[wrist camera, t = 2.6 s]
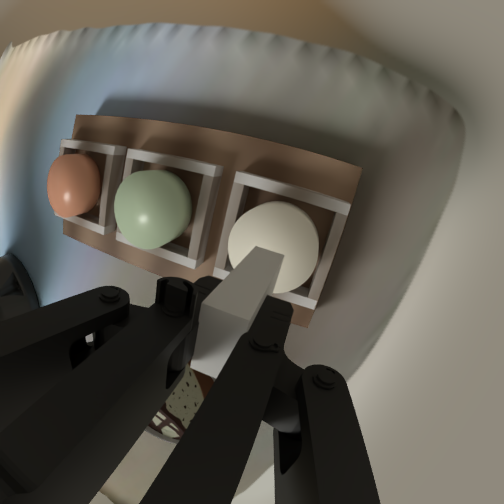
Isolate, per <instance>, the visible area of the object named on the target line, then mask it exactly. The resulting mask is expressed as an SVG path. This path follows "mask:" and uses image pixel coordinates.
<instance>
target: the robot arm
mask: <svg viewBox="0 0 504 504" xmlns="http://www.w3.org/2000/svg"><path fill="white" fill-rule="evenodd" d="M283 259H284V255H283V254H280V253H277V252H273V251H270V250H267V249H264V248H261V247H258V246H255V247H254V248H253V249H252V250H251V251H250V253H249V254H248V255H247V256H246V257H245V258H244V259H243V260H242V261H241V262H240V263H239V264H238V265H237V266H236V267H235V268H234V269H233V270H232V271H231V272H230V273H229V275H228V276H227V277H226V278H225V279H224V280H220V279H218V278H215V277H212V276H209V275H208V276H205V277H201V278H199V279H198V280H197V281H195V282H194V283H192V282H190V281H188V280H187V279H183V278H180V277H163V278H160V279H158V280H157V289H156V299H155V303H154V304H153V305H152V306H150V307H149V308H146V307H141V306H137V305H132V304H130V298H129V294H128V293H127V292H126V291H125V290H123V289H121V288H119V287H115V286H103V287H98V288H95V289H92V290H89V291H86V292H84V293H81V294H78V295H75V296H72V297H69V298H66V299H63V300H60V301H58V302H55V303H52V304H49V305H46V306H43V307H40V308H39V304H38V300H37V296H36V293H35V290H34V287H33V285H32V282H31V280H30V278H29V276H28V274H27V272H26V270H25V268H24V267H23V265H22V264H21V262H20V261H19V260H18V259H17V258H16V257H15V256H14V255H12V254H7V255H4V256H2V257H0V504H89V503H90V501H91V500H92V499H93V498H94V496H95V495H96V494H97V492H98V491H99V490H100V489H101V487H102V486H103V485H104V483H105V482H106V481H107V479H108V478H109V477H110V475H111V474H112V473H113V472H114V470H115V469H116V468H117V466H118V465H119V464H120V462H121V461H122V460H123V458H124V457H125V456H126V454H127V453H128V452H129V450H130V449H131V448H132V446H133V445H134V444H135V442H136V441H137V440H138V438H139V437H140V436H141V434H142V433H143V431H144V430H145V429H146V427H147V426H148V425H149V423H150V422H151V421H152V419H153V418H154V417H155V415H156V414H157V412H158V411H159V410H160V408H161V407H162V406H163V404H164V403H165V402H166V400H167V399H168V397H169V396H170V395H171V393H172V392H173V391H174V389H175V388H176V386H177V385H178V384H179V382H180V381H181V379H182V378H183V376H184V374H185V369H186V365H187V363H188V362H189V361H190V359H191V358H192V360H191V366H190V368H192V369H194V370H197V371H199V372H201V373H204V374H206V375H209V376H211V377H214V378H216V380H215V382H214V383H213V385H212V387H211V388H210V390H209V392H208V394H207V395H206V397H205V399H204V400H203V402H202V404H201V405H200V407H199V409H198V410H197V412H196V414H195V415H194V417H193V419H192V420H191V422H190V424H189V425H188V427H187V429H186V430H185V432H184V434H183V435H182V437H181V439H180V440H179V442H178V443H177V445H176V447H175V448H174V450H173V452H172V453H171V455H170V456H169V458H168V460H167V461H166V463H165V464H164V466H163V467H162V469H161V471H160V472H159V474H158V475H157V477H156V478H155V480H154V482H153V483H152V485H151V486H150V488H149V489H148V491H147V492H146V494H145V495H144V497H143V499H142V500H141V502H140V503H139V504H231V502H232V499H233V497H234V494H235V492H236V489H237V487H238V484H239V482H240V479H241V477H242V474H243V471H244V469H245V466H246V463H247V461H248V458H249V455H250V452H251V450H252V447H253V444H254V441H255V438H256V436H257V433H258V430H259V427H260V424H261V421H262V420H263V421H265V422H266V423H268V424H269V425H271V426H272V427H274V430H273V440H274V475H275V504H380V500H379V496H378V492H377V488H376V484H375V480H374V476H373V472H372V468H371V465H370V461H369V457H368V454H367V450H366V447H365V443H364V439H363V436H362V433H361V429H360V426H359V422H358V419H357V416H356V412H355V409H354V406H353V402H352V399H351V396H350V393H349V390H348V386H347V383H346V381H345V379H344V378H343V376H342V375H341V374H340V373H339V372H338V371H336V370H334V369H332V368H331V367H328V366H324V365H311V366H308V367H306V368H305V369H302V368H301V367H299V366H297V365H296V364H294V363H293V362H292V361H291V360H289V359H288V357H287V356H286V354H285V352H284V343H285V340H286V336H287V333H288V329H289V326H290V322H291V319H292V315H293V311H294V309H293V307H292V305H291V303H290V302H287V301H284V300H281V299H278V298H275V297H272V294H273V291H274V288H275V285H276V281H277V278H278V275H279V272H280V269H281V265H282V262H283ZM91 333H93V341H92V342H88V343H87V342H86V338H85V336H87V335H89V334H91Z"/></svg>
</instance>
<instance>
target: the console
mask: <svg viewBox="0 0 504 504" xmlns="http://www.w3.org/2000/svg"><path fill="white" fill-rule="evenodd" d="M66 154H86V155H89V156H90V157H91V158H92V159H93V160H94V161H95V162H96V164H97V166H98V169H99V172H100V178H101V189H100V195H99V198H98V201H97V203H96V205H95V206H94V207H93V209H91V210H90V211H89V212H87V213H83V214H79V215H76V216H72V217H68V218H64V217H61V216H59V215H58V214H57V213H56V212H55V211H54V215H56V216H58V217H61V218H63V234H65V235H67V236H69V237H71V238H73V239H75V240H78V241H80V242H82V243H84V244H86V245H89V246H91V247H93V248H95V249H98V250H100V251H102V252H104V253H107V254H109V255H111V256H114V257H116V258H118V259H121V260H123V261H125V262H128V263H130V264H132V265H135V266H137V267H140V268H142V269H145V270H147V271H149V272H152V273H154V274H157V275H159V276H162V277H180V278H183V279H187V280H188V281H190V282H192V283H194V282H195V281H197V280H198V279H199V278H201V277H205V276H208V275H209V276H212V277H215V278H218V279H220V280H224V279H225V278H226V277H227V276H228V275H229V273H230V272H231V271H232V270H233V267H232V264H231V262H230V259H229V254H228V240H229V236H230V232H231V230H232V228H233V226H234V225H235V223H236V222H237V220H238V219H239V218H240V217H241V216H242V215H243V214H245V213H246V212H248V211H249V210H251V209H253V208H255V207H257V206H259V205H261V204H263V203H266V202H271V201H283V202H288V203H291V204H294V205H296V206H297V207H299V208H301V209H302V210H303V211H305V212H306V213H307V214H308V215H309V217H310V218H311V219H312V221H313V222H314V224H315V226H316V229H317V232H318V237H319V249H318V259H317V263H316V266H315V269H314V271H313V272H312V274H311V276H310V277H309V278H308V279H307V280H306V281H305V282H304V283H303V284H302V285H301V286H299V287H297V288H296V289H294V290H291V291H288V292H284V293H273V294H272V297H275V298H278V299H281V300H284V301H287V302H290V303H291V305H292V307H293V309H294V311H293V315H292V319H291V322H290V323H293V324H296V325H299V326H302V327H306V328H308V325H309V323H310V321H311V318H312V316H313V313H314V311H315V308H316V306H317V303H318V301H319V298H320V295H321V293H322V290H323V288H324V285H325V282H326V280H327V277H328V274H329V271H330V269H331V266H332V263H333V260H334V257H335V255H336V252H337V249H338V246H339V243H340V240H341V237H342V234H343V231H344V228H345V225H346V222H347V219H348V216H349V212H350V209H351V206H352V203H353V200H354V196H355V193H356V189H357V186H358V183H359V179H360V176H361V172H362V169H363V168H361V167H358V166H355V165H352V164H349V163H346V162H343V161H340V160H336V159H333V158H330V157H327V156H323V155H320V154H317V153H313V152H310V151H306V150H303V149H299V148H295V147H292V146H288V145H284V144H280V143H276V142H272V141H268V140H264V139H259V138H255V137H250V136H246V135H241V134H236V133H231V132H226V131H221V130H216V129H210V128H205V127H199V126H193V125H186V124H179V123H172V122H165V121H157V120H148V119H138V118H128V117H115V116H99V115H76V119H75V124H74V129H73V134H72V139H61V145H60V152H59V156H61V155H66ZM147 170H166V171H170V172H172V173H174V174H175V175H177V176H178V177H179V178H180V179H181V180H182V181H183V182H184V183H185V185H186V186H187V188H188V190H189V193H190V196H191V200H192V215H191V219H190V222H189V225H188V227H187V228H186V230H185V231H184V232H183V233H182V234H181V235H180V236H179V237H178V238H176V239H174V240H172V241H170V242H168V243H166V244H164V245H162V246H160V247H158V248H155V249H142V248H139V247H136V246H134V245H133V244H131V243H130V242H129V241H128V240H127V239H126V238H125V237H124V236H123V234H122V233H121V231H120V229H119V227H118V225H117V222H116V218H115V213H114V202H115V196H116V193H117V190H118V188H119V186H120V184H121V183H122V182H123V180H124V179H125V178H126V177H128V176H129V175H131V174H132V173H135V172H138V171H147Z"/></svg>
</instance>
